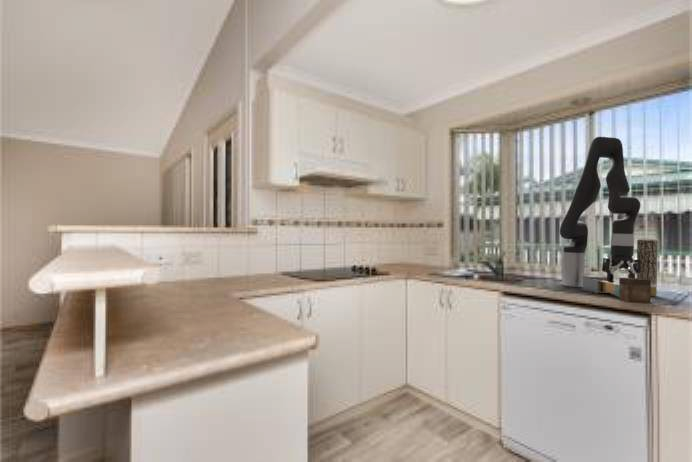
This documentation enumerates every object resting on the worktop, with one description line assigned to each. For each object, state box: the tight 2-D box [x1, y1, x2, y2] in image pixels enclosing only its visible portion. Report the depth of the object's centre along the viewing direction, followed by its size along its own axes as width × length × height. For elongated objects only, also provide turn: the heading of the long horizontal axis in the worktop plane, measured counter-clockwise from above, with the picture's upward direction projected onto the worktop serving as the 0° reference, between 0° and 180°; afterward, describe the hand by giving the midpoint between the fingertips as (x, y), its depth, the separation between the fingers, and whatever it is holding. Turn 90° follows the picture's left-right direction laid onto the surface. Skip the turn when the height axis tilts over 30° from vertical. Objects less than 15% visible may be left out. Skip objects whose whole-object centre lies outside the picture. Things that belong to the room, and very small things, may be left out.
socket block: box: [618, 277, 652, 303], centre depth 136 cm, size 5×8×9 cm, turn 90°
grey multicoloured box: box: [581, 274, 616, 294], centre depth 156 cm, size 10×8×7 cm
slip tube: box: [601, 281, 619, 296], centre depth 144 cm, size 19×4×4 cm, turn 0°
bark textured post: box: [635, 238, 659, 297], centre depth 150 cm, size 7×7×25 cm
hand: (620, 282), depth 143 cm, fingers open, 8 cm apart
